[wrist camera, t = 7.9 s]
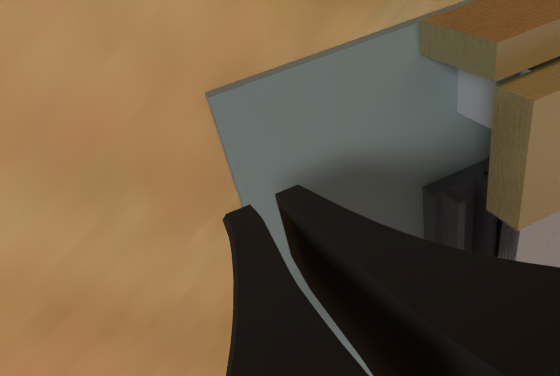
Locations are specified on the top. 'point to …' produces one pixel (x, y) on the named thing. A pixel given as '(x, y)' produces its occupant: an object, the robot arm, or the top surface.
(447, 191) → the clip base
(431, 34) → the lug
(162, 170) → the top surface
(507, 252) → the strap
